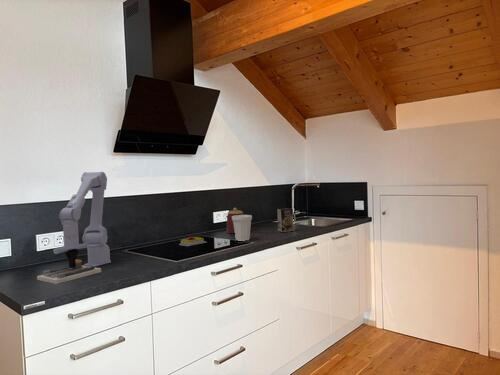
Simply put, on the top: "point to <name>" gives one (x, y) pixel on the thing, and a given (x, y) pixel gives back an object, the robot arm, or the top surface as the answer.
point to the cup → (242, 226)
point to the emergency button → (192, 241)
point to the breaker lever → (77, 264)
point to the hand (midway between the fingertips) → (72, 267)
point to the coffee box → (285, 219)
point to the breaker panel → (67, 274)
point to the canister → (230, 222)
